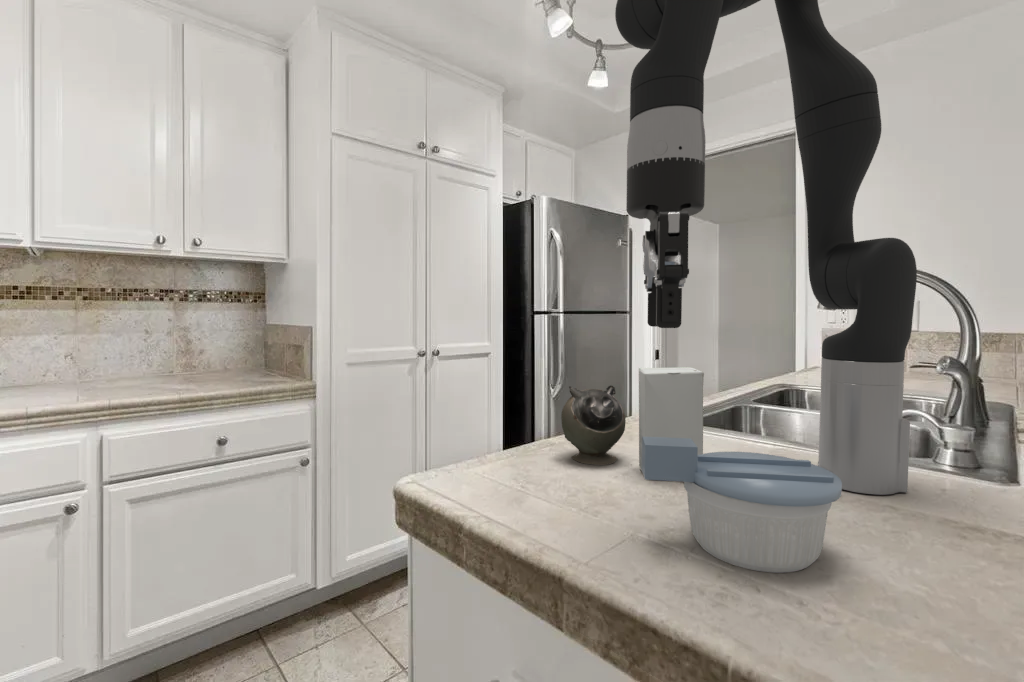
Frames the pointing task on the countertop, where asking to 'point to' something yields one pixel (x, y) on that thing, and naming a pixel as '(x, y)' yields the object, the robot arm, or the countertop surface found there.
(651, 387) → the skincare box
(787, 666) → the countertop surface
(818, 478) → the lid
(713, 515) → the ramekin
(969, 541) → the countertop surface
